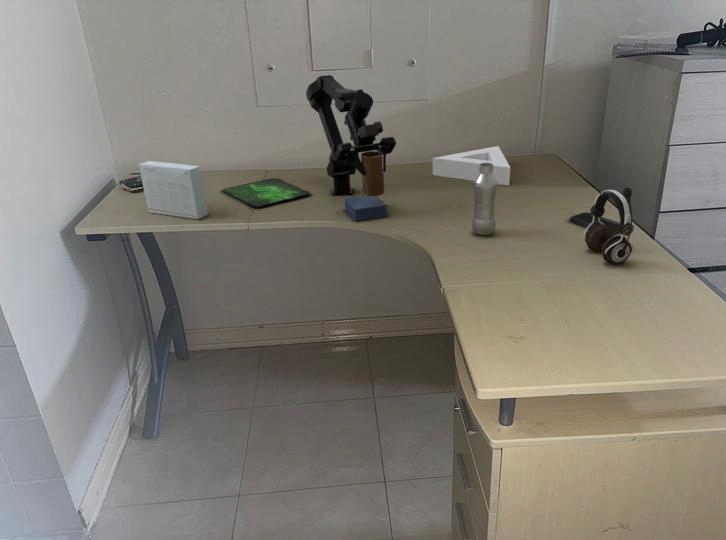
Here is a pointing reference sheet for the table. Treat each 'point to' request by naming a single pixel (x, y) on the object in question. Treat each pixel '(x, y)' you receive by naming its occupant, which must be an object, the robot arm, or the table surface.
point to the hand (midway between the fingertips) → (374, 173)
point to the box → (365, 207)
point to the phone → (587, 219)
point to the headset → (602, 235)
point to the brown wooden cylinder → (373, 173)
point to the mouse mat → (265, 192)
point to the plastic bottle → (484, 200)
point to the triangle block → (473, 165)
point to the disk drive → (133, 183)
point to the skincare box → (174, 189)
